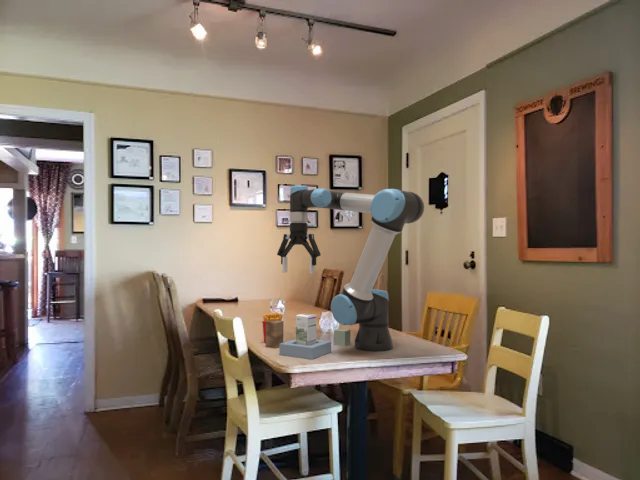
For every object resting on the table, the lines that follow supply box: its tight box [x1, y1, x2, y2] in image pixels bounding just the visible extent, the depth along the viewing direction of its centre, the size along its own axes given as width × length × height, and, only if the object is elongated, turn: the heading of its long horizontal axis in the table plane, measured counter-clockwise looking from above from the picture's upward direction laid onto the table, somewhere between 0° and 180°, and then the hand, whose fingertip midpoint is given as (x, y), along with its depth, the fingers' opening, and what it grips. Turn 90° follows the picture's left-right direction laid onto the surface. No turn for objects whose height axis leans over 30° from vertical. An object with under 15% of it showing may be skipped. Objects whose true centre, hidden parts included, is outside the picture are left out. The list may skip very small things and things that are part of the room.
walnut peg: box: [265, 320, 284, 349], centre depth 192 cm, size 5×5×10 cm
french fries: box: [261, 312, 284, 344], centre depth 201 cm, size 8×4×12 cm, turn 119°
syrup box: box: [295, 313, 317, 346], centre depth 180 cm, size 6×6×14 cm
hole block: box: [278, 338, 332, 360], centre depth 180 cm, size 14×14×4 cm
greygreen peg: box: [333, 328, 352, 347], centre depth 197 cm, size 5×5×6 cm
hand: (298, 273), depth 204 cm, fingers open, 13 cm apart
